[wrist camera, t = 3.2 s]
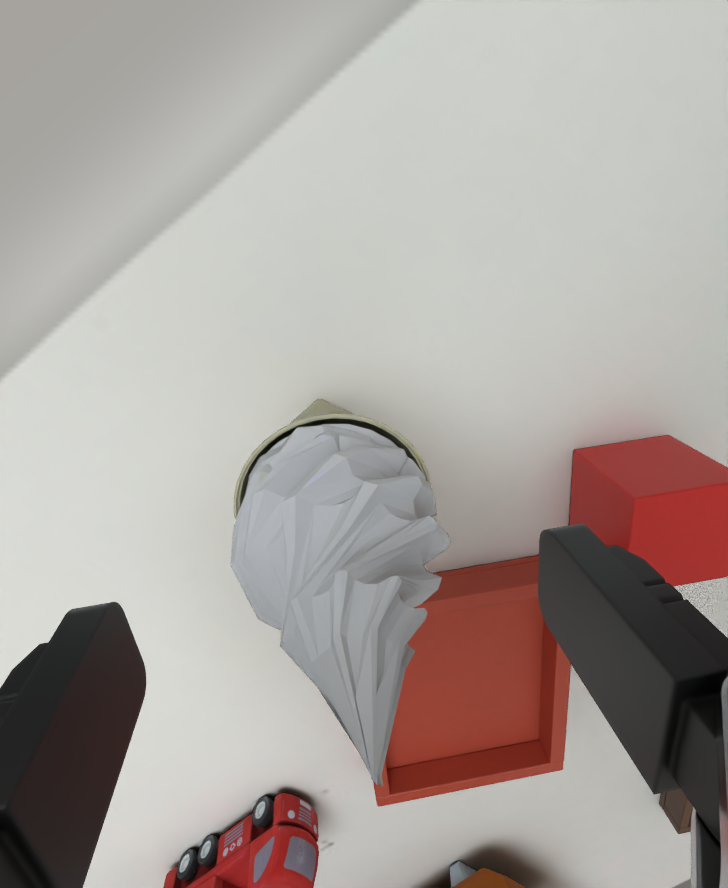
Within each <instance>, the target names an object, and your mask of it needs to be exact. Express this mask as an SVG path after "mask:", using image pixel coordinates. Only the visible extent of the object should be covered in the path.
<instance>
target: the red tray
mask: <svg viewBox="0 0 728 888" xmlns="http://www.w3.org/2000/svg"><path fill="white" fill-rule="evenodd" d="M538 570H539V555H538V556H532V557H527V558H521V559H515V560H509V561H503V562H497V563H492V564H486V565H480V566H474V567H468V568H462V569H457V570H451V571H445V572H439V573H433V574H435V575H437V576H440V577H442V579H441V582H440V585H439V588H438V590H437V591H436V592H434V593H433V594H432V595H431V596H430V597H429V598H428V599H426V600H425V601H424V602H423V603H422V604H420V605H418V606H416V607H414V608H415V609H417V608H425V609H426V611H427V616H426V619H425V621H424V622H423V623H422V625H421V626H420V627H419V628H418V630H417V631H416V632H415V633H414V635H413V636H412V637H411V639H410V640H409V641H408V642H407V644H408V645H409V646H410V647H411V648H412V649H413V650H415V653H414V655H413V657H412V658H411V660H410V662H409V664H408V666H407V667H406V669H405V673H404V678H403V682H402V687H401V691H400V696H399V700H398V705H397V709H396V713H395V718H394V722H393V727H392V731H391V736H390V740H389V744H388V749H387V753H386V758H385V762H384V767H383V771H382V780H383V785H382V784H381V786H380V784H379V783H378V785H376V784H375V782H374V781H373V783H374V789H375V795H376V801H377V805H378V806H384V805H389V804H394V803H399V802H404V801H409V800H414V799H419V798H424V797H429V796H434V795H439V794H444V793H449V792H454V791H459V790H464V789H469V788H474V787H479V786H484V785H489V784H494V783H499V782H504V781H509V780H514V779H519V778H524V777H529V776H534V775H539V774H544V773H549V772H554V771H559V770H562V769H563V761H564V751H565V737H566V723H567V710H568V696H569V682H570V668H571V663H570V661H569V660H568V658H567V657H566V655H565V653H564V652H563V650H562V649H561V647H560V646H559V644H558V642H557V641H556V639H555V638H554V636H553V635H552V633H551V631H550V630H549V628H548V626H547V625H546V623H545V621H544V618H543V616H542V613H541V609H540V605H539V600H538ZM381 787H382V788H381Z"/></svg>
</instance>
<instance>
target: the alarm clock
mask: <svg viewBox="0 0 728 888" xmlns="http://www.w3.org/2000/svg"><path fill="white" fill-rule="evenodd" d="M450 878H451V888H526V887H524V886H522V885H521V884H519V883H517V882H515V881H514V880H512V879H510V878H509V877H506V876H504V875H501V874H499V873H496V872H494V871H492V870H489V869H487V868H481V869H480V870H478V871H475V870H474V869H472V868H470V867H468V866H467V865H465V864H463V863H461V862H460V861H458V862H456V863H455V864H453V865H452V866H451V867H450Z"/></svg>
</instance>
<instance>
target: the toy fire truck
mask: <svg viewBox="0 0 728 888" xmlns="http://www.w3.org/2000/svg"><path fill="white" fill-rule="evenodd" d="M317 841H318V818H317V814H316V812H315V810H314V809H313V807H312V806H311V805H310V804H309V803H307V802H306V801H304V800H303V799H301V798H298V797H296V796H293V795H290V794H285V793H281V794H278V795H277V796H276V797H275V801H274V802H273V800H272V799H270V798H269V797H266V796H264V797H262V798H260V799H259V801H258V802H257V803H256V805H255V807H254V810H253V814H250V815H249V816H248V817H246V818H245V819H244V820H242V821H241V822H239V823H238V824H236V825H235V826H234V827H232V828H231V829H229V830H228V831H227V832H225V833H224V834H222V835H221V837H220V839H218V838H217V837H215V836H214V835H210V836H208V837H207V838H206V839H205V840H204V841H203V843H202V845H201V847H200V849H199V852H198V857H197V852H196V851H194V850H192V849H189V850H187V851H186V852H185V853H184V854H183V856H182V857H181V859H180V862H179V864H178V867H176V868H174V869H172V870H171V871H169V872H168V873H167V875H166V879H165V883H164V888H313V886H314V882H315V877H316V872H317V866H318V856H319V851H318V845H317Z"/></svg>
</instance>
